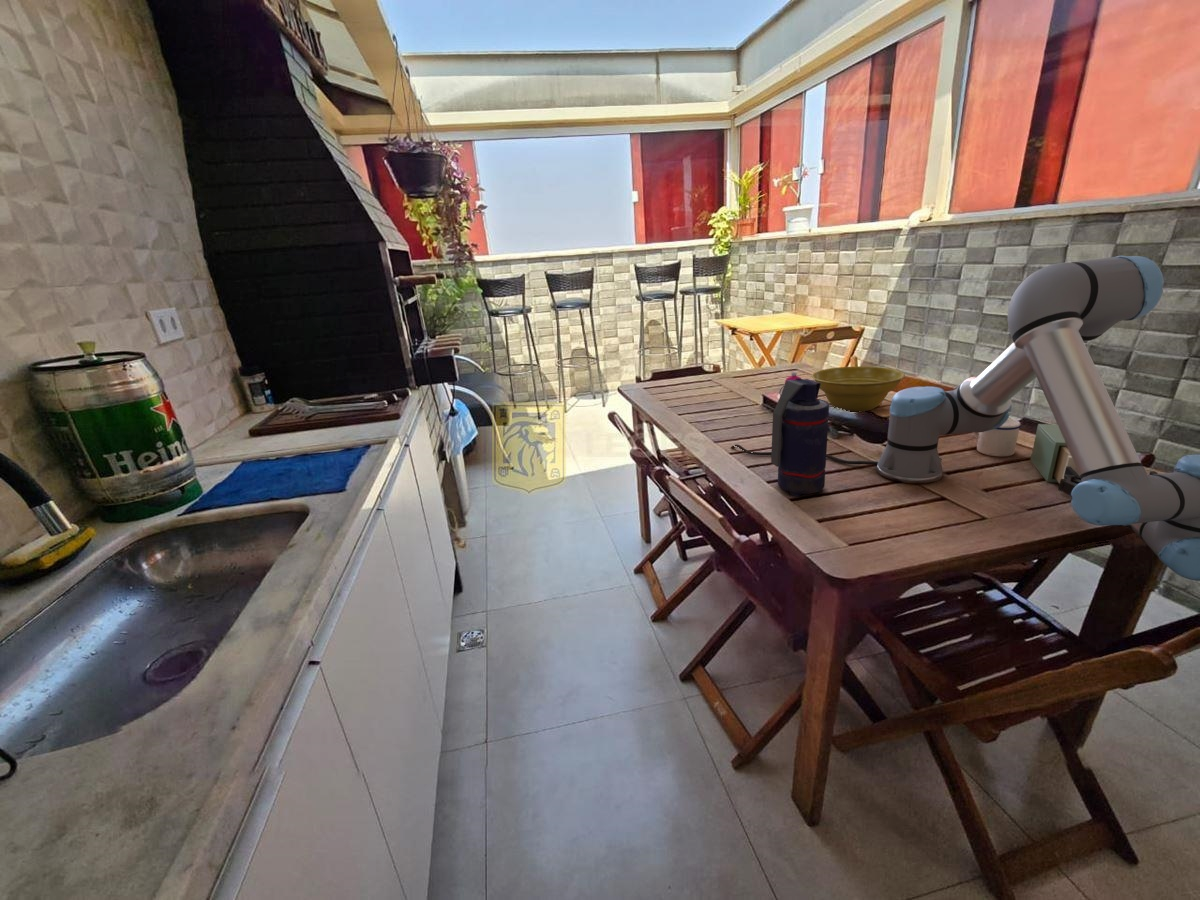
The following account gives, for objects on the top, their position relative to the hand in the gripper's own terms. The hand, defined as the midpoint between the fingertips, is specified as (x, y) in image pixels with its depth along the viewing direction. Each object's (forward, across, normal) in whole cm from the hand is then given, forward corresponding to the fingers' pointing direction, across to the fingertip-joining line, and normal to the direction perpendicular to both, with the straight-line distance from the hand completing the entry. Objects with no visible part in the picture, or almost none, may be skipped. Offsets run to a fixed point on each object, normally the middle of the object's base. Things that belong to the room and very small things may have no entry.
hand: (1107, 474), depth 107 cm
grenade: (-6, -63, -8) cm, 64 cm away
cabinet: (+19, 0, -8) cm, 20 cm away
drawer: (+8, 0, -7) cm, 11 cm away
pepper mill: (+49, -70, +3) cm, 86 cm away
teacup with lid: (+33, -14, -8) cm, 37 cm away
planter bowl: (+75, -50, -8) cm, 90 cm away
